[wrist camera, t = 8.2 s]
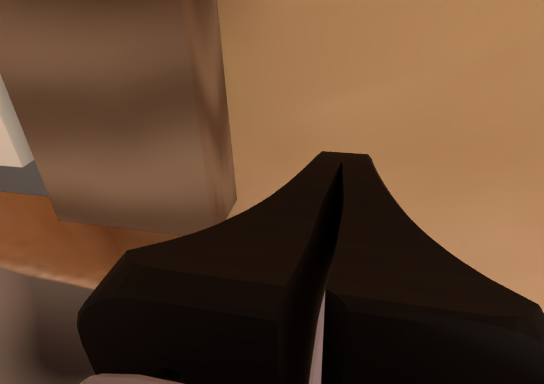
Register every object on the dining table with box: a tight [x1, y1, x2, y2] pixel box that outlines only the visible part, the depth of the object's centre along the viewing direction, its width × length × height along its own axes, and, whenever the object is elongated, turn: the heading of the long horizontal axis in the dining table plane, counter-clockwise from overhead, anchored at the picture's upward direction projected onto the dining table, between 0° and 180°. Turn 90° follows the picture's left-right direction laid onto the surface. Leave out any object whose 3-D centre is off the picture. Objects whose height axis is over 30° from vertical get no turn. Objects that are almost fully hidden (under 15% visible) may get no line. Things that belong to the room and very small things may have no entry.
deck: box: [0, 0, 237, 236], centre depth 21 cm, size 14×10×4 cm
